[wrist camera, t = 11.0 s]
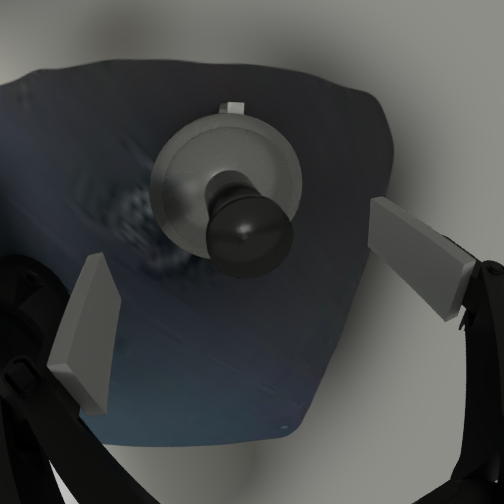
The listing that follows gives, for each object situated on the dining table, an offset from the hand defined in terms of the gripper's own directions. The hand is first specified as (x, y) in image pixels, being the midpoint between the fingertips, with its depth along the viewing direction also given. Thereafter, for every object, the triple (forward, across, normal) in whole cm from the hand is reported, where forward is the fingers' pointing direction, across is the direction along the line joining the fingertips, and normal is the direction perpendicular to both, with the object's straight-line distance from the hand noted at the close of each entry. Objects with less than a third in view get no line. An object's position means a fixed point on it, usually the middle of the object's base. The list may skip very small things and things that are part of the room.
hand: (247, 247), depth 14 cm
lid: (+10, 0, 0) cm, 10 cm away
